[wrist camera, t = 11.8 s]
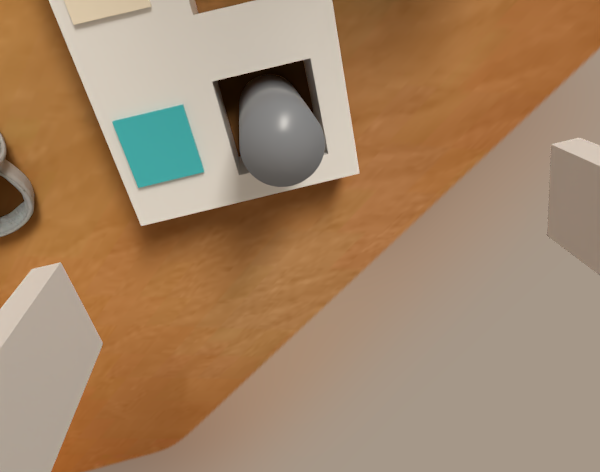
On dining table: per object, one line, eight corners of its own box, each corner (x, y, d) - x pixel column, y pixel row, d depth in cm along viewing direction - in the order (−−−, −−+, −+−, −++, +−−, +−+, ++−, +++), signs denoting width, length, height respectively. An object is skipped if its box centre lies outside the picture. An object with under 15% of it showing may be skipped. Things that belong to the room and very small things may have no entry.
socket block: (291, -168, 25) (301, -201, 21) (346, 155, 33) (360, 174, 29) (31, -108, 24) (-7, -130, 21) (151, 202, 33) (140, 228, 29)
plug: (292, 67, 30) (316, 93, 21) (305, 128, 32) (331, 176, 23) (231, 81, 30) (229, 113, 21) (247, 142, 31) (251, 195, 23)
